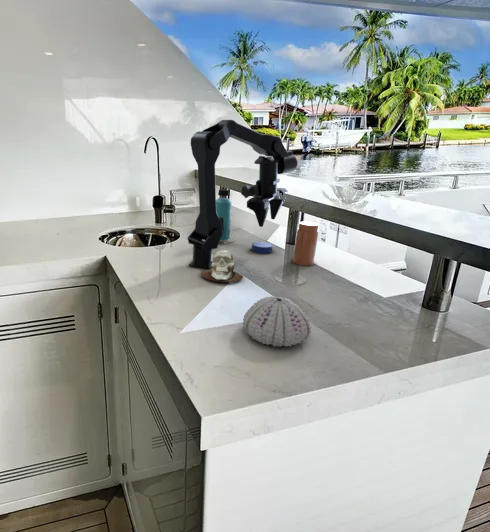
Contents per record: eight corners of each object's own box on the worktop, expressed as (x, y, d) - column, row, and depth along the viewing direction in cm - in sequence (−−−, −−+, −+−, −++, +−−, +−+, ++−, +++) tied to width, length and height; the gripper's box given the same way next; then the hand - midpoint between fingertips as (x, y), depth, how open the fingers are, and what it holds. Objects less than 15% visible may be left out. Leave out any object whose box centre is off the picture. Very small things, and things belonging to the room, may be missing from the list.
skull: (244, 283, 102) (220, 254, 101) (214, 302, 107) (191, 274, 106) (249, 268, 112) (227, 241, 112) (221, 286, 117) (201, 260, 116)
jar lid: (259, 246, 140) (260, 240, 139) (276, 251, 135) (276, 245, 134) (247, 250, 136) (248, 243, 135) (264, 254, 131) (264, 248, 130)
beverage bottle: (230, 244, 142) (235, 190, 135) (212, 244, 142) (216, 190, 135) (227, 240, 148) (232, 188, 141) (210, 239, 148) (214, 187, 142)
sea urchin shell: (320, 351, 73) (327, 314, 70) (251, 353, 72) (256, 315, 69) (292, 319, 85) (297, 286, 83) (233, 320, 84) (236, 287, 82)
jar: (313, 266, 120) (320, 226, 116) (292, 264, 122) (298, 224, 118) (313, 260, 126) (319, 222, 121) (293, 258, 128) (298, 220, 123)
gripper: (258, 170, 134) (257, 213, 140) (231, 181, 122) (232, 227, 128) (289, 171, 128) (286, 216, 134) (264, 182, 115) (263, 232, 121)
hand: (267, 222), depth 129 cm, fingers open, 9 cm apart
